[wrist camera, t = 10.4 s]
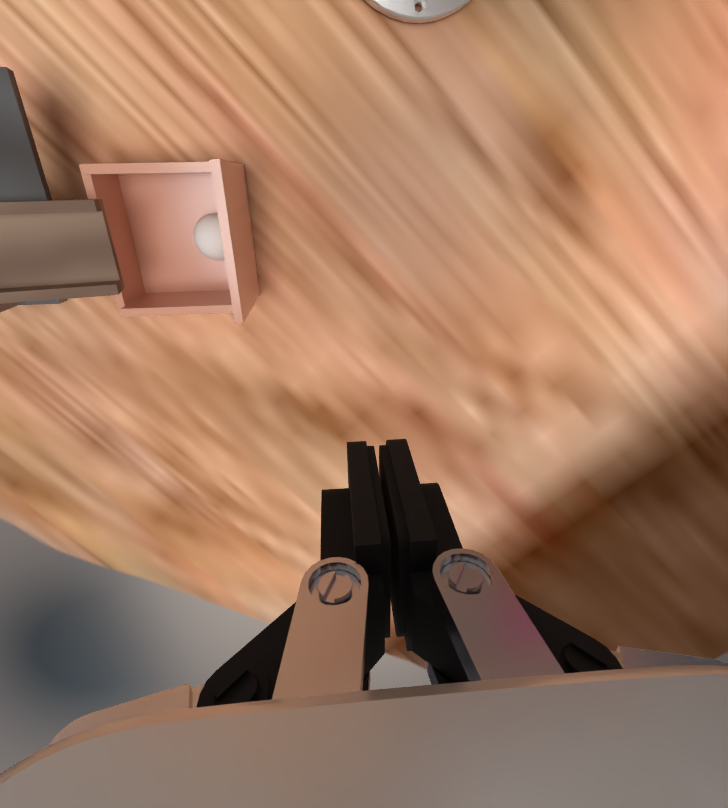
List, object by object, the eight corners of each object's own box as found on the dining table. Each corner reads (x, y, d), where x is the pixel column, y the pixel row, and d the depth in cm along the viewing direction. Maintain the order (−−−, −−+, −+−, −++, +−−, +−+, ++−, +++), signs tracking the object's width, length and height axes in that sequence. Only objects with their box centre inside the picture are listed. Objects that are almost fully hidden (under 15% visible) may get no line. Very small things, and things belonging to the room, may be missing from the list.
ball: (179, 214, 34) (210, 215, 32) (215, 211, 36) (246, 212, 35) (188, 262, 35) (218, 265, 34) (222, 256, 38) (252, 258, 36)
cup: (111, 167, 34) (45, 162, 26) (244, 164, 35) (219, 159, 27) (142, 298, 39) (94, 328, 31) (260, 294, 39) (243, 322, 31)
